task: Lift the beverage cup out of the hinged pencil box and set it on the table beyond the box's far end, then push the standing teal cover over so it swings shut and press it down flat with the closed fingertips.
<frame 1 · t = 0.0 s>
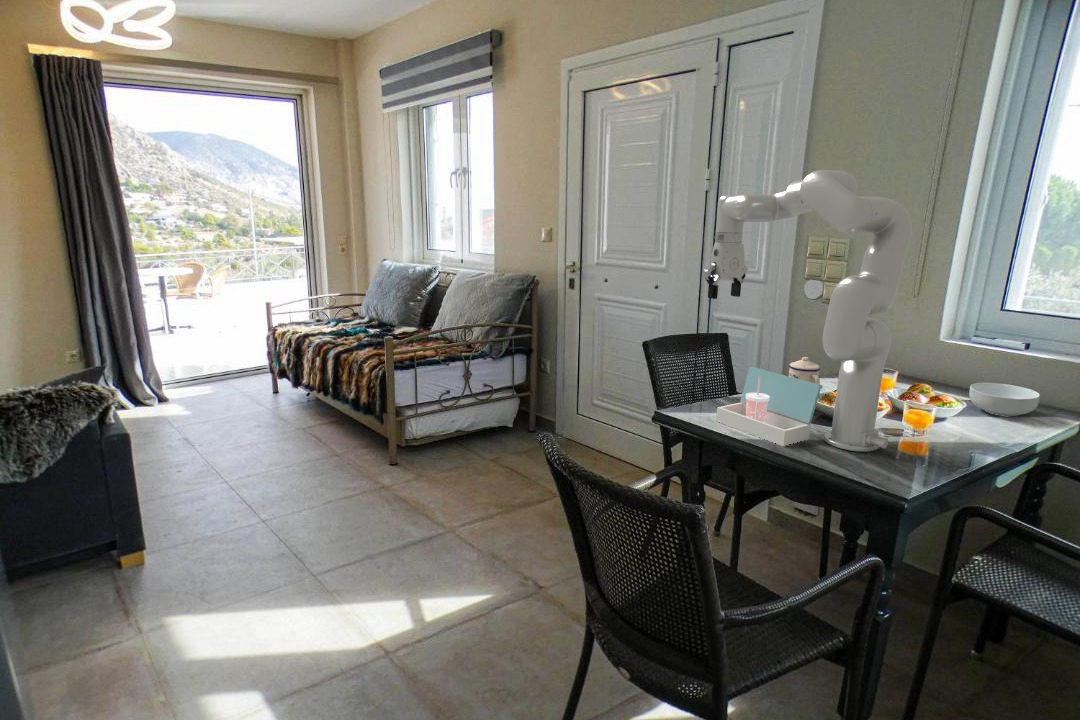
hand: (724, 297, 191), 31 cm above the table, tool pointing down, fingers open, 9 cm apart
hinged pencil box: (760, 430, 170), on the table
beverage cup: (754, 428, 172), resting in hinged pencil box
teacup with lid: (804, 394, 204), on the table
cover: (779, 394, 171), point 9 cm above the table, hinge at 105.0°
cereal bowl: (1000, 413, 188), on the table
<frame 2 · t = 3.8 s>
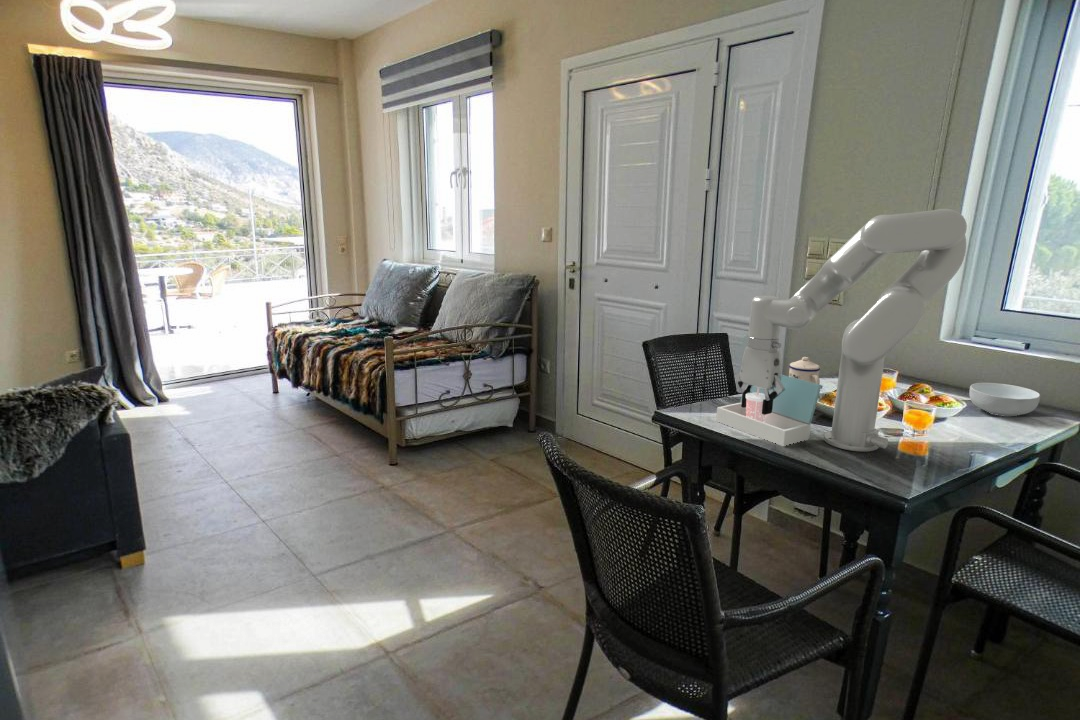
hand: (756, 409, 170), 5 cm above the table, tool pointing down, fingers closed on beverage cup, 6 cm apart
beverage cup: (754, 428, 172), resting in hinged pencil box, touching gripper
everything else where it was.
when the fingers open (6 cm above the table, at t = 9.2 s): beverage cup stays where it is, on the table.
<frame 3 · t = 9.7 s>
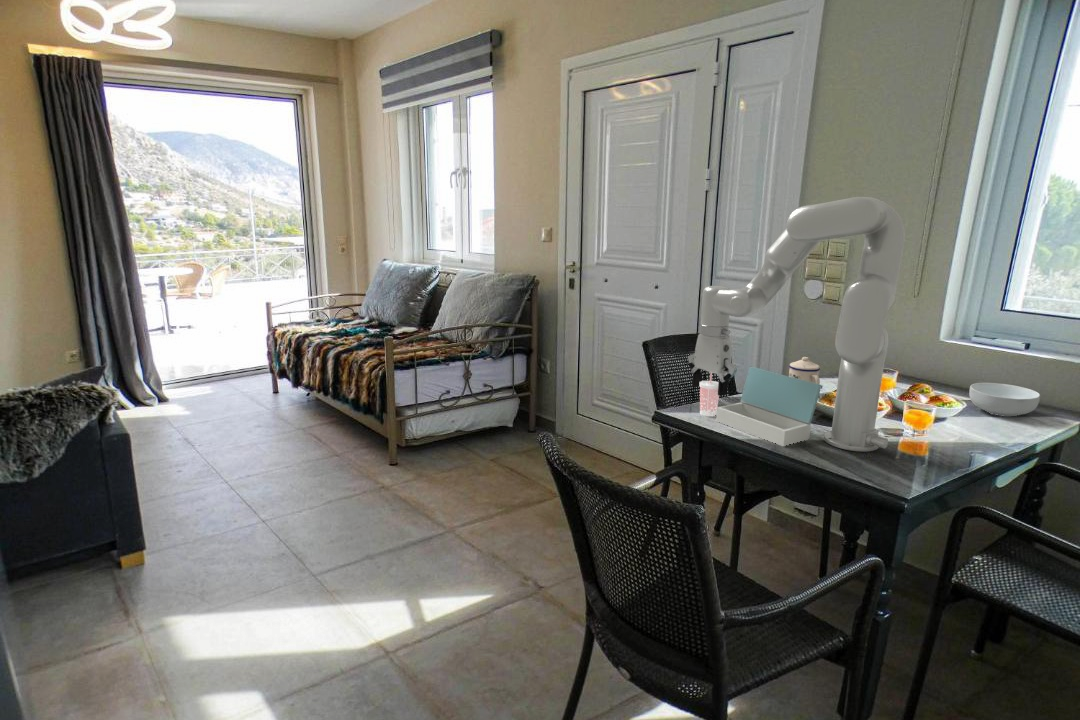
hand: (709, 390, 181), 7 cm above the table, tool pointing down, fingers open, 9 cm apart
beverage cup: (707, 414, 183), on the table
everything else where it was.
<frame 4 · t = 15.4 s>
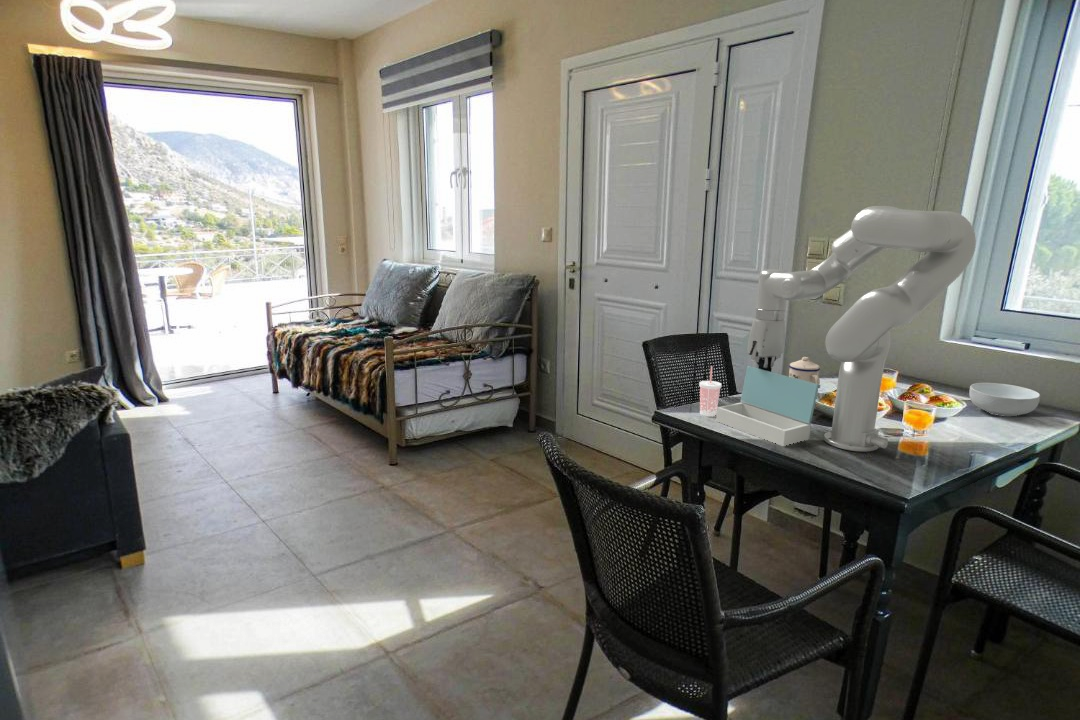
hand: (763, 380, 179), 10 cm above the table, tool pointing down, fingers closed
cover: (778, 393, 171), point 9 cm above the table, hinge at 98.7°, touching gripper
everything else where it was.
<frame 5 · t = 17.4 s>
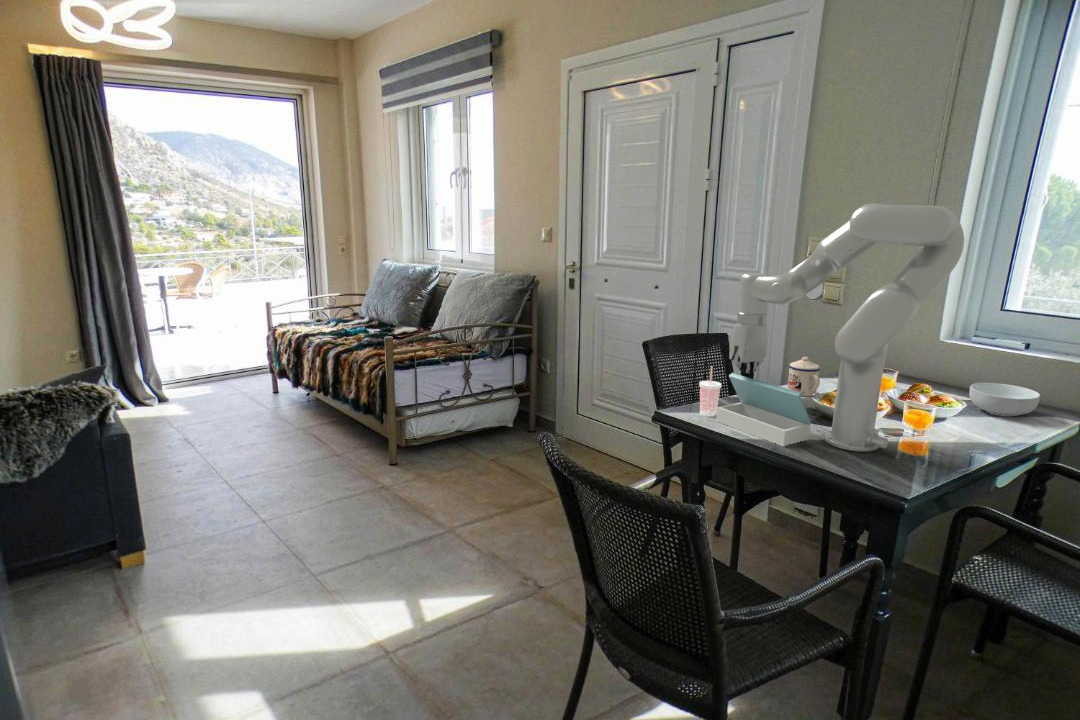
hand: (746, 385, 175), 10 cm above the table, tool pointing down, fingers closed
cover: (769, 397, 169), point 9 cm above the table, hinge at 55.1°, touching gripper
everything else where it was.
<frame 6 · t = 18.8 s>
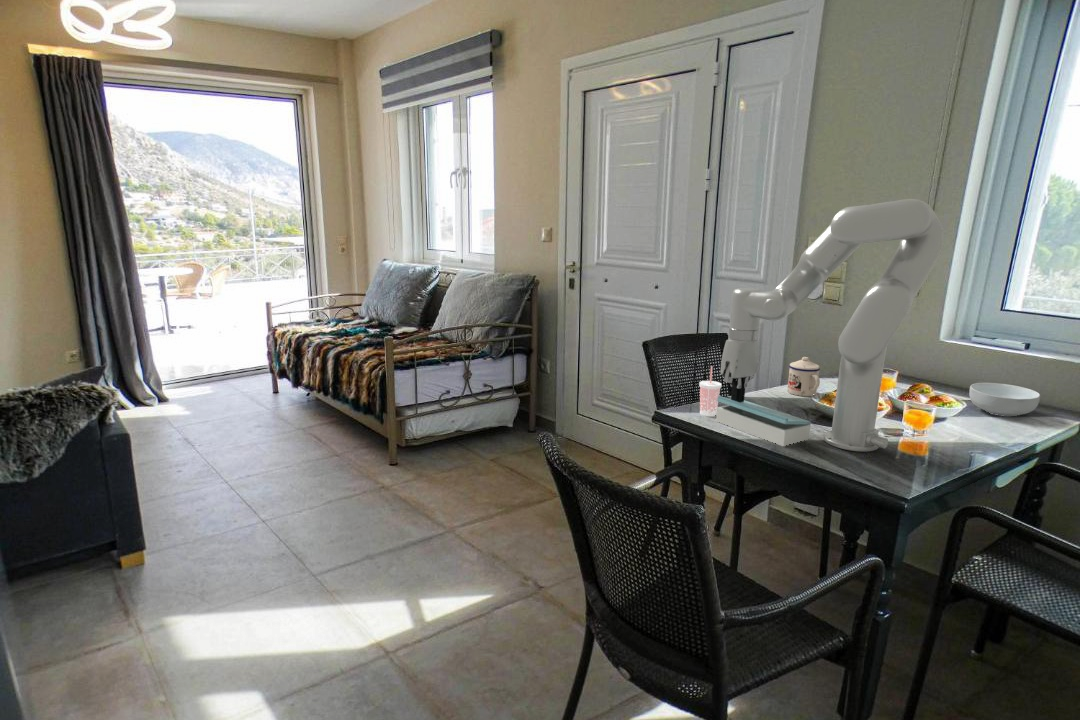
hand: (737, 401, 175), 6 cm above the table, tool pointing down, fingers closed
cover: (762, 409, 169), point 6 cm above the table, hinge at 10.5°, touching gripper
everything else where it was.
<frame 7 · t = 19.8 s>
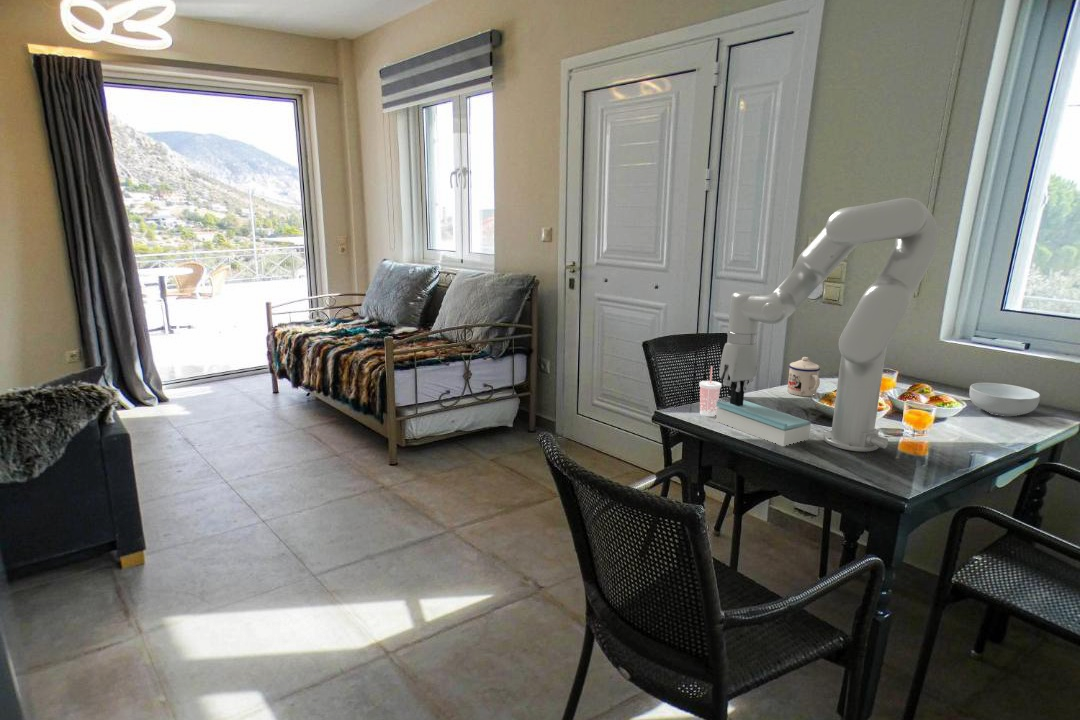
hand: (736, 404, 175), 5 cm above the table, tool pointing down, fingers closed
cover: (761, 412, 169), point 5 cm above the table, hinge at 2.1°, touching gripper
everything else where it was.
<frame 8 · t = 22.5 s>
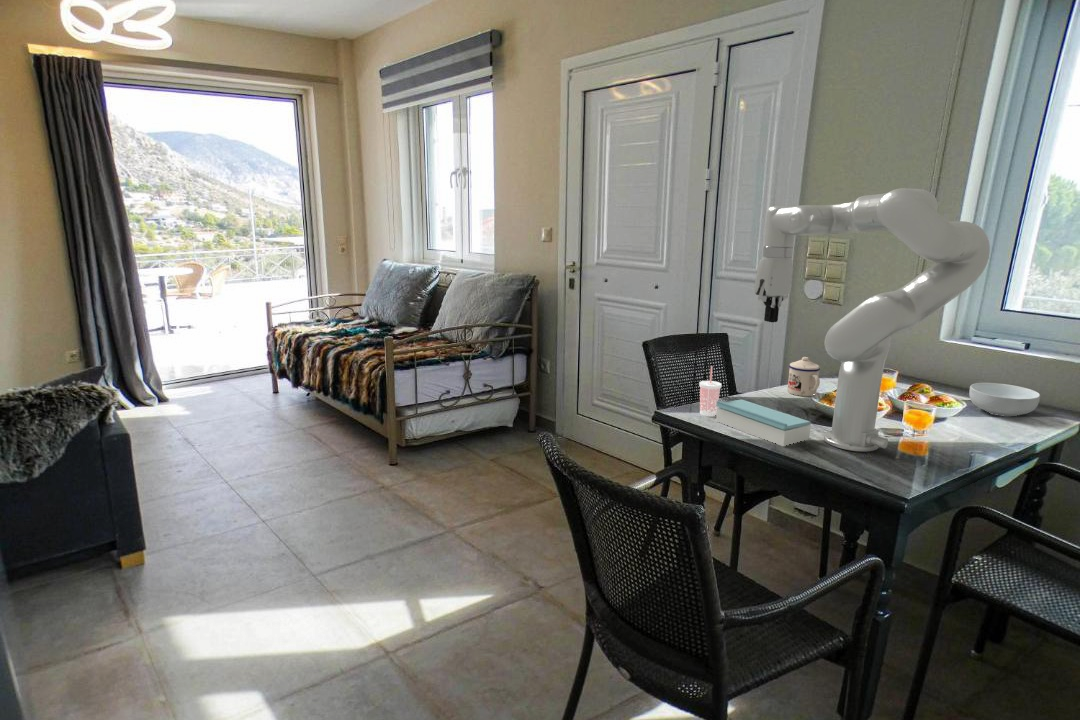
hand: (770, 321, 175), 27 cm above the table, tool pointing down, fingers closed
cover: (761, 412, 169), point 5 cm above the table, hinge at 2.1°
everything else where it was.
at the end: cover at +2° (first picture: +105°); beverage cup inside the target area (0.2 cm from its centre), on the table; beverage cup tilted 0° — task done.
